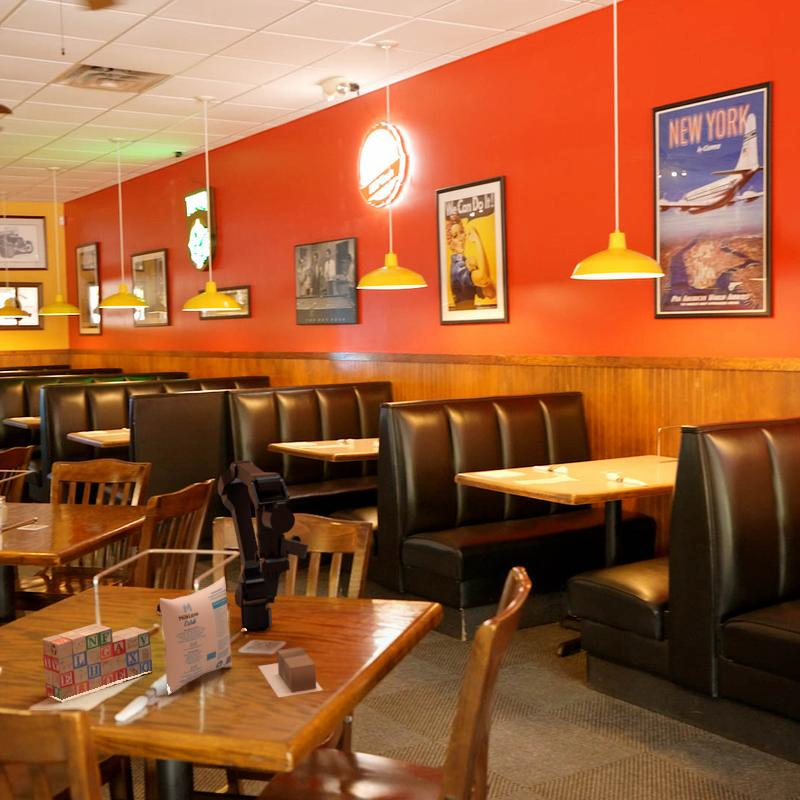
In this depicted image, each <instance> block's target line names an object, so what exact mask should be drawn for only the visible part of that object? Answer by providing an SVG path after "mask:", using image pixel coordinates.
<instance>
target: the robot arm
mask: <svg viewBox="0 0 800 800" xmlns="http://www.w3.org/2000/svg"><path fill="white" fill-rule="evenodd" d="M217 492H218V495H219V496H220V497H221V501H222V504H223V506H224V507H225V508H226V509H227V510H229V512H230V513H231V516H232V523H233V528H234V532H235V537H236V542H237V543H236V544H237V547H238V551H239V557H240V562H241V566H242V567H241V571H240V573H239V576H238V579H237V582H238V584H237V587H236V590H235V591H234V592H235V593H234V601H235V605H236V606H237V607H239V608H240V615H241V617H240V618H241V628H240V629H239V631H240V630H241V629H242V628H246V629H247V632H246V633H265V632H267V631H268V630H269V628H271V627H272V625H273V616H272V615H273V613H272V608H271V607H270V604H275V599H276V597H277V595H278V589H279V582H280V576H281V574H282V573H283V572H285V571H290V569H291V567H290V560H289V559H288V558H287V557H286V556H287V554H288V555H291V556H292V555H293V556H296V557H299V558H301V559H305V558H306V556H307V552H308V548H309V544H308V543H307V542H304V541H302V538H301V537H300V535H297V534H293V535H292V536H291V537H290V538H289V537H285V534H286V533H289V532H290V531H291V530H292V529H293V528H294V525H295V522H296V516H295V515H294V512H293V511H292V510H291V509H290V508H287V507H286V504H290V503H291V501H290V497H291V495H290V493H289V490H288V488H287V485H286V483H285V481H284V478H283V477H282V476H281V475H280V474H279V473H278V472H264V471H263V470H262V469H260V468H259V467H258V466H257V465H255V464H254V463H253V461H252V460H238V461H234V462H231V464H230V466H229V467H228V469H226V470H225V471H224V472H223V473H221V474H220V477H219V480H218V481H217ZM251 502H252V503H253V505H254V511H255V523H256V531H255V528H254V522H253V516H252V513H251V507H250V504H251Z"/></svg>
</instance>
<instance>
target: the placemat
mask: <svg viewBox="0 0 800 800" xmlns="http://www.w3.org/2000/svg"><path fill="white" fill-rule="evenodd" d="M257 667H258V669H259V670H260V672H261V673H262V675H263V676H264V678H265V679H266V681H267V682H268V685H269V686H270V687H271V689H272V690H273V692H274V693H275V694H276V696H277V697H278V698H283V697H290V696H296V695H302V694H309V693H313V692H321V691H323V688H322V686H320V684H319V683H318V682H317V681H316V689H310V690H304V691H298V692H291V691H290V689H289V688H288V686H287V685H286V683H285V682H284V681H283V679H282V678H281V676H280V675H279V672H278V662H276V663H270V664H264V665H258V666H257Z"/></svg>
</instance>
